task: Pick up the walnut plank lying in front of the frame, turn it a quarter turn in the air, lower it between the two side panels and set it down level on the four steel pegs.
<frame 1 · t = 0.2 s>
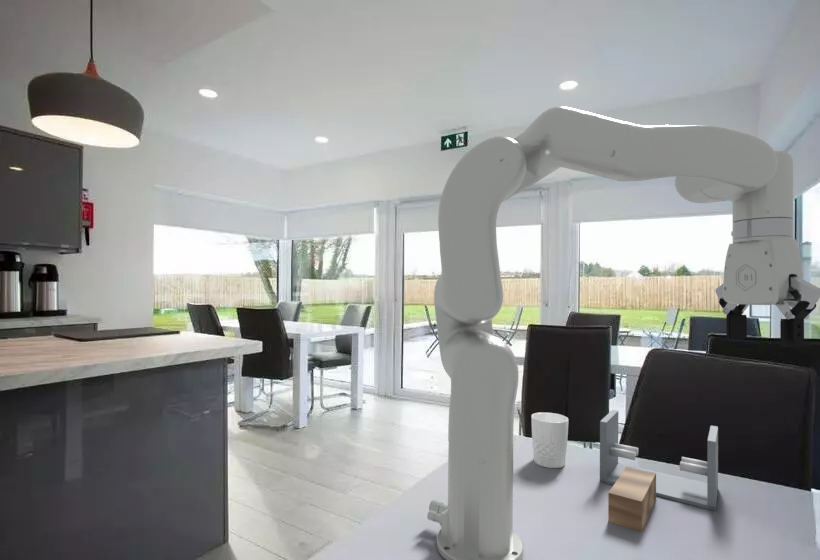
hand: (762, 342, 70), 31 cm above the table, tool pointing down, fingers open, 9 cm apart
shelf board: (633, 511, 78), on the table
white cup: (549, 463, 99), on the table
peg frame: (657, 484, 88), on the table
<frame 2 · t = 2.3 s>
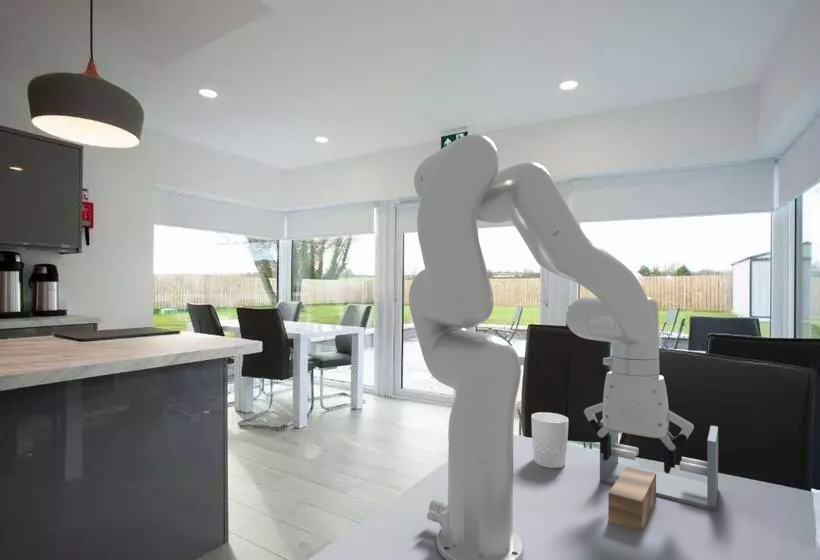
hand: (636, 464, 79), 8 cm above the table, tool pointing down, fingers open, 9 cm apart
nothing on the table moved.
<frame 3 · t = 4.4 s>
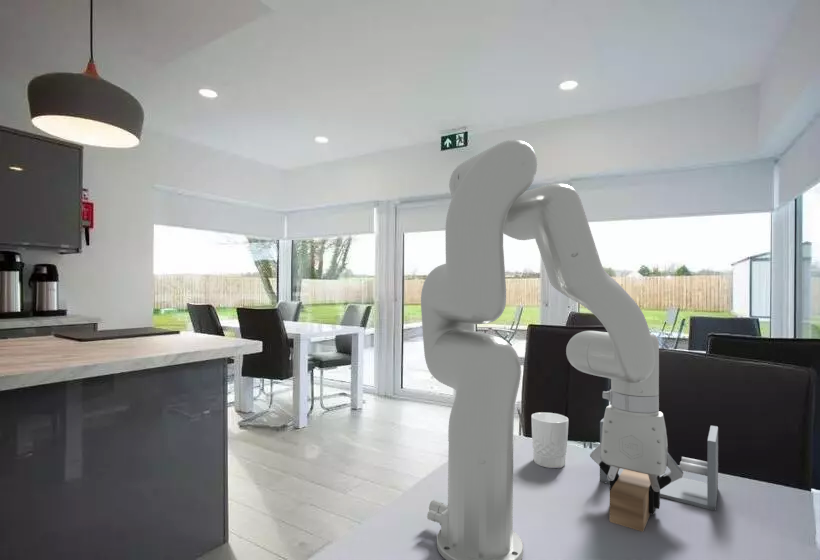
hand: (634, 505, 78), 1 cm above the table, tool pointing down, fingers closed on shelf board, 5 cm apart
shelf board: (634, 509, 78), on the table, touching gripper
everything else where it was.
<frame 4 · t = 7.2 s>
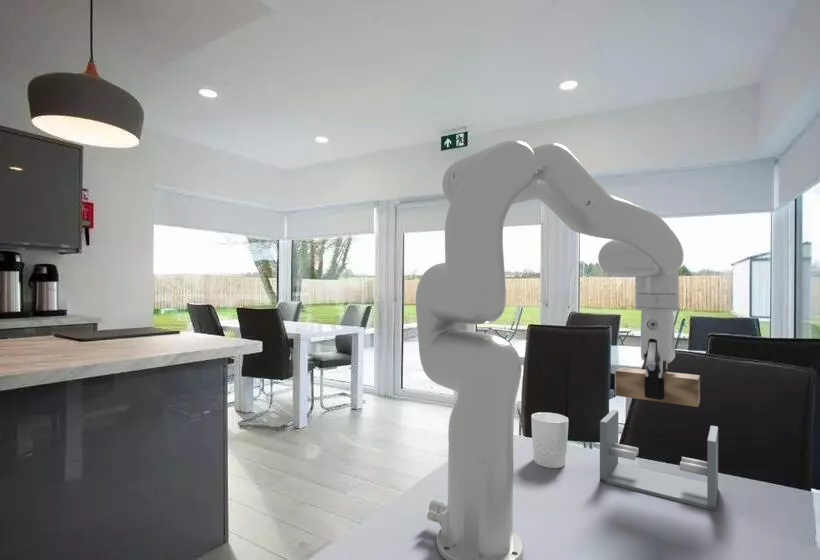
hand: (656, 394, 88), 18 cm above the table, tool pointing down, fingers closed on shelf board, 5 cm apart
shelf board: (656, 398, 88), point 17 cm above the table, touching gripper
everything else where it was.
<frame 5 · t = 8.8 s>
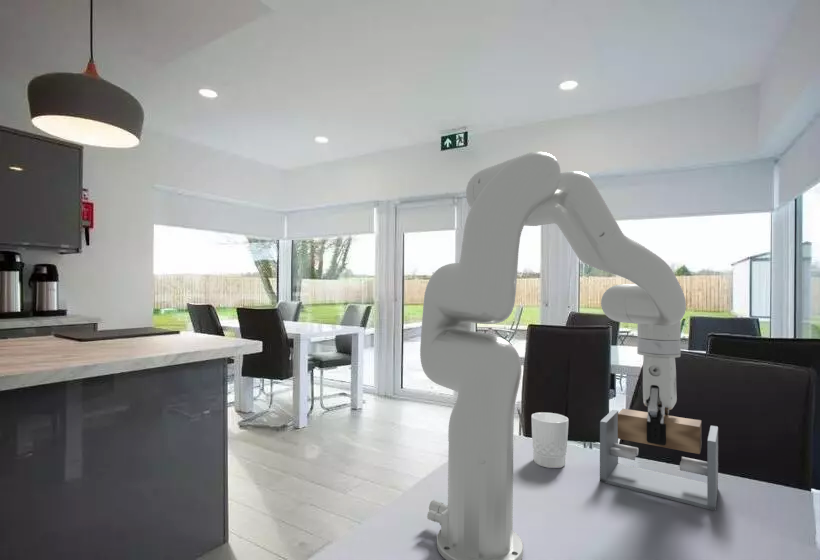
hand: (658, 438, 89), 9 cm above the table, tool pointing down, fingers closed on shelf board, 5 cm apart
shelf board: (658, 442, 89), point 8 cm above the table, touching gripper
everything else where it was.
when the fingers open (7 cm above the table, at t = 10.0 s): shelf board stays where it is, resting on peg frame.
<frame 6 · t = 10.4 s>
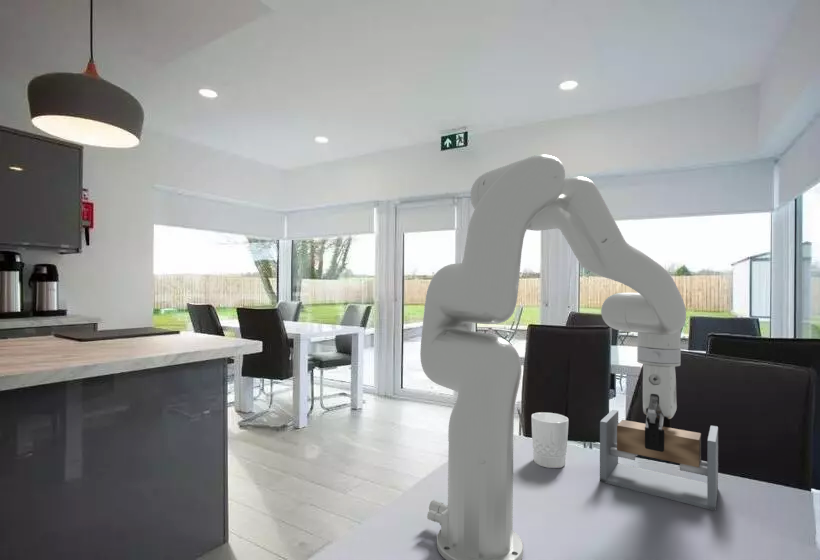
hand: (658, 442, 88), 8 cm above the table, tool pointing down, fingers open, 9 cm apart
shelf board: (657, 454, 88), point 6 cm above the table, touching peg frame
everything else where it was.
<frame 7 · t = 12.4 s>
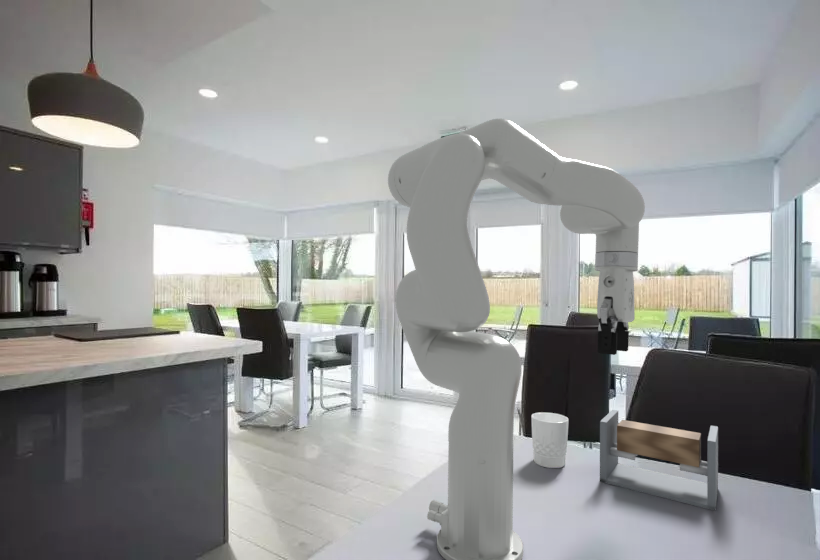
hand: (613, 352, 86), 27 cm above the table, tool pointing down, fingers open, 9 cm apart
nothing on the table moved.
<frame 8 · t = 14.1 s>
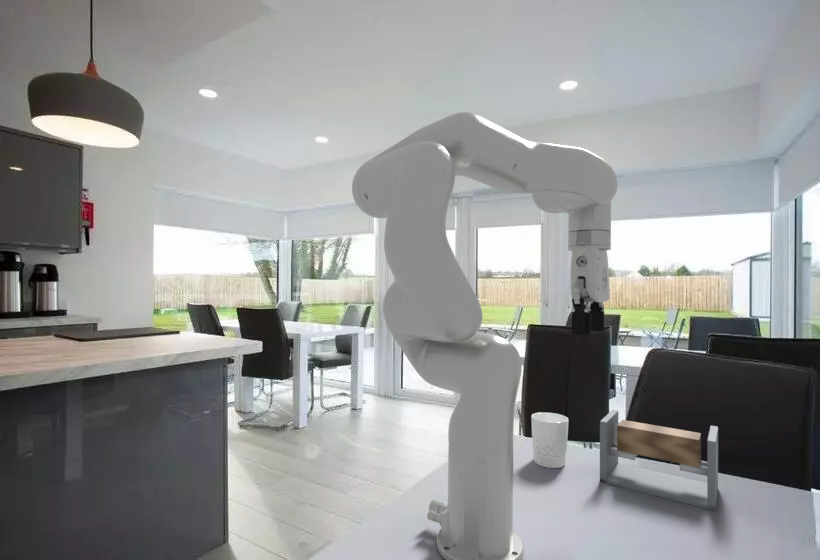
hand: (588, 332, 84), 30 cm above the table, tool pointing down, fingers open, 9 cm apart
nothing on the table moved.
at the end: shelf board 0.1 cm off-centre on the peg frame, point 6.0 cm above the peg frame's base; shelf board tilted 0°; the gripper is holding nothing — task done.
